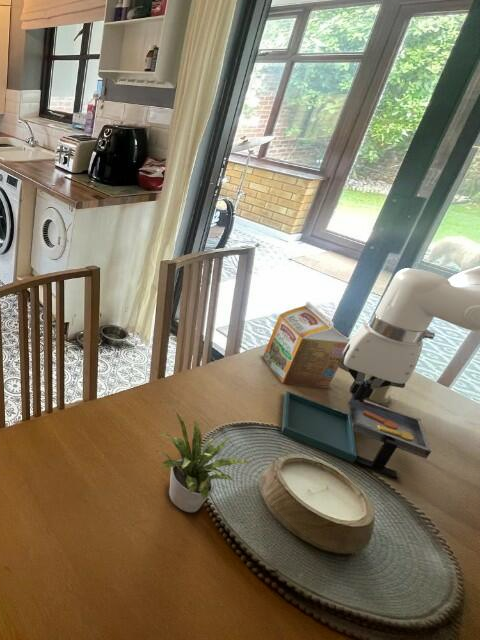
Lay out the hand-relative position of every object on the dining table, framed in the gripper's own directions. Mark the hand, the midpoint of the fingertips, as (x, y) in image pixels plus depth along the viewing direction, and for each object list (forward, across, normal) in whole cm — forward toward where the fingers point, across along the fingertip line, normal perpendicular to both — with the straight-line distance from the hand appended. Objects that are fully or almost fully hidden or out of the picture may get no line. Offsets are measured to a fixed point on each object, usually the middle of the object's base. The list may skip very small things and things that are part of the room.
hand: (357, 397), depth 90 cm
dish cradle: (+8, -5, +5) cm, 11 cm away
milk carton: (+8, +9, -15) cm, 20 cm away
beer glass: (+8, -7, -17) cm, 20 cm away
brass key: (+2, -6, +6) cm, 9 cm away
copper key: (+2, -4, +3) cm, 5 cm away
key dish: (+2, -5, +5) cm, 7 cm away
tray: (+8, +5, +5) cm, 11 cm away
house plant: (+9, +26, +42) cm, 50 cm away
